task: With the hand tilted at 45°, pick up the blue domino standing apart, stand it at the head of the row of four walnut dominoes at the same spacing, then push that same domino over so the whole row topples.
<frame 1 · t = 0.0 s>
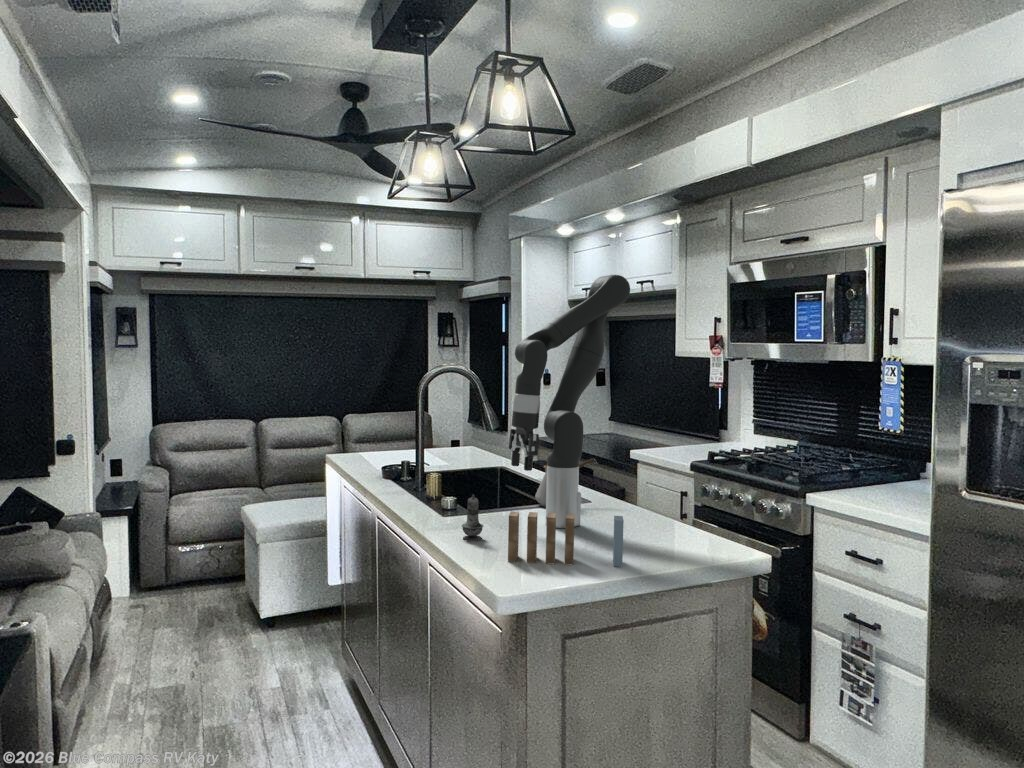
hand: (521, 468, 209), 17 cm above the countertop, tool pointing down, fingers open, 8 cm apart
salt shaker: (472, 539, 197), on the countertop
coffee pot: (566, 505, 244), on the countertop
domino 2: (569, 561, 178), on the countertop
domino 4: (531, 559, 179), on the countertop
domino 5: (513, 558, 179), on the countertop
blue domino: (617, 563, 177), on the countertop
domino 3: (550, 560, 178), on the countertop
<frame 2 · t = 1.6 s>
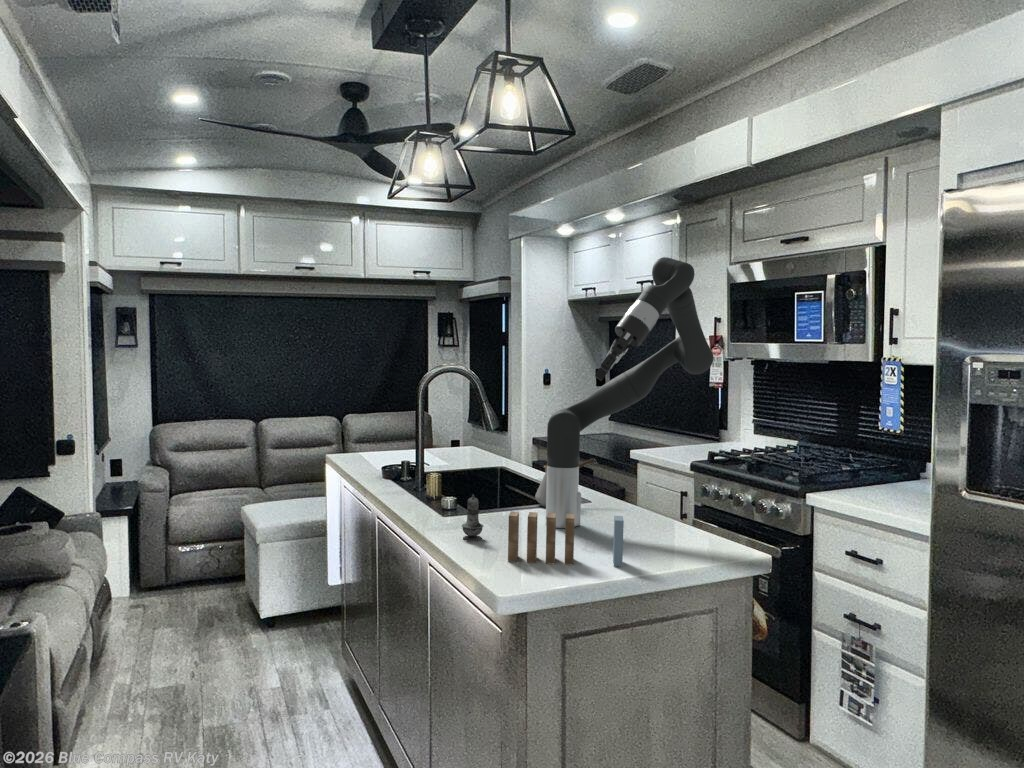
hand: (600, 373, 180), 45 cm above the countertop, tool tilted 40°, fingers open, 8 cm apart
nothing on the countertop moved.
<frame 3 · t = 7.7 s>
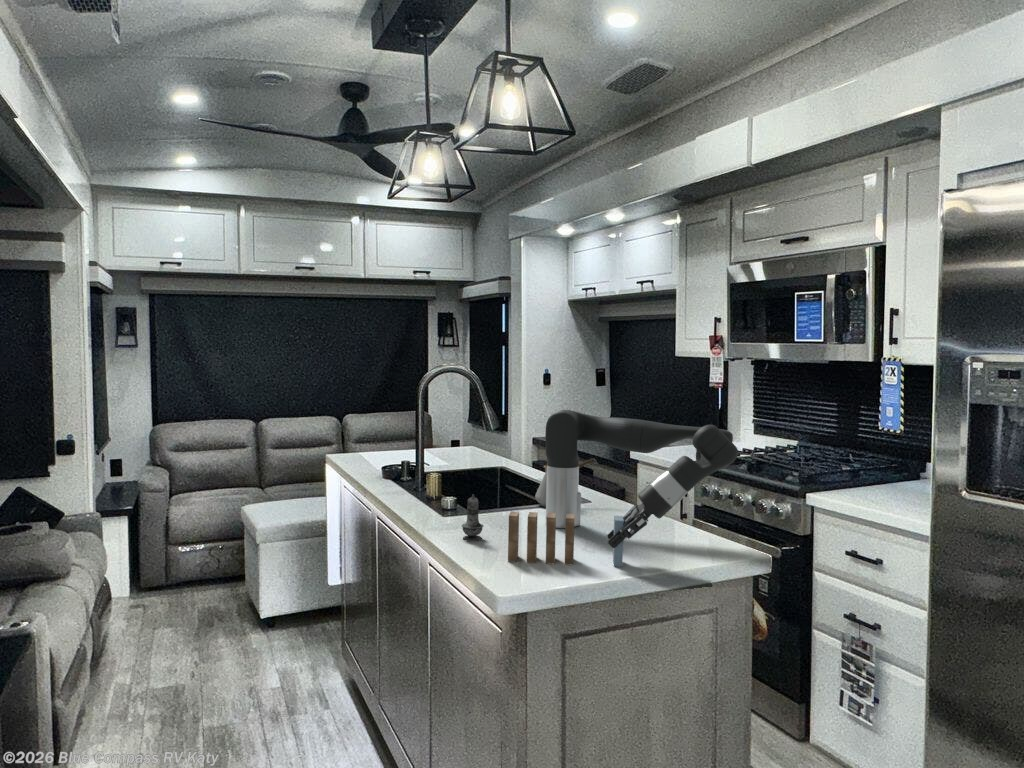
hand: (610, 541, 177), 5 cm above the countertop, tool tilted 45°, fingers closed on blue domino, 5 cm apart
blue domino: (617, 563, 177), on the countertop, touching gripper
everything else where it was.
when the fingers open (6 cm above the countertop, at t = 13.7 s): blue domino stays where it is, on the countertop.
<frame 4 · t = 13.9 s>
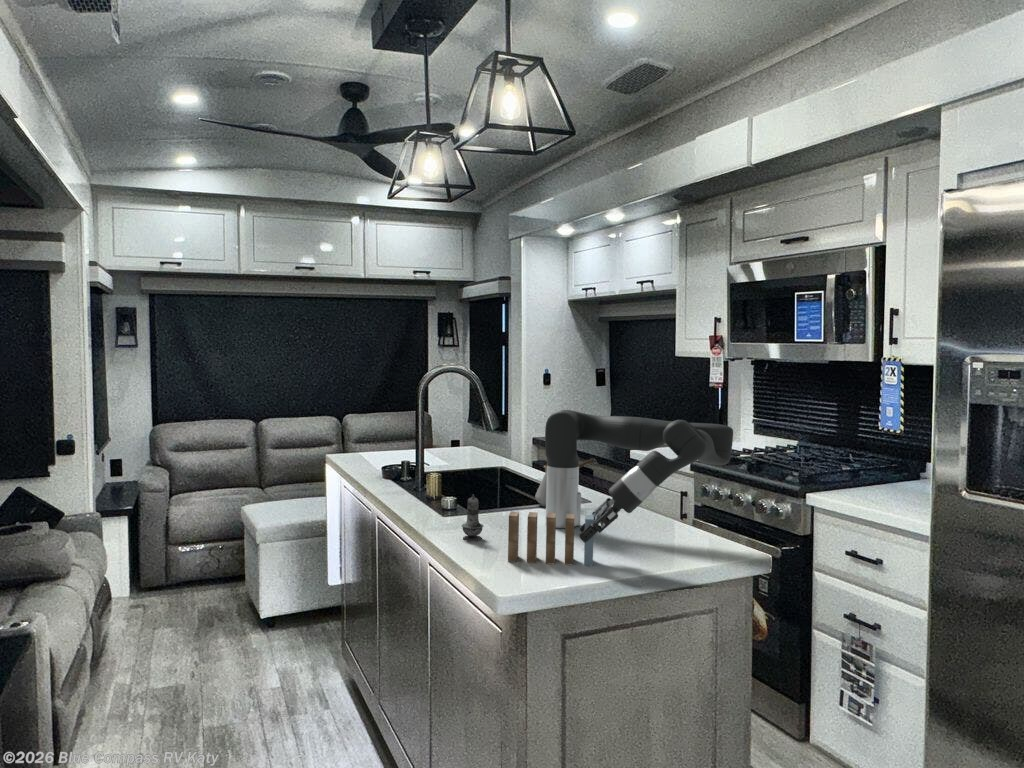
hand: (581, 535, 177), 6 cm above the countertop, tool tilted 45°, fingers open, 6 cm apart
blue domino: (588, 562, 177), on the countertop
everything else where it was.
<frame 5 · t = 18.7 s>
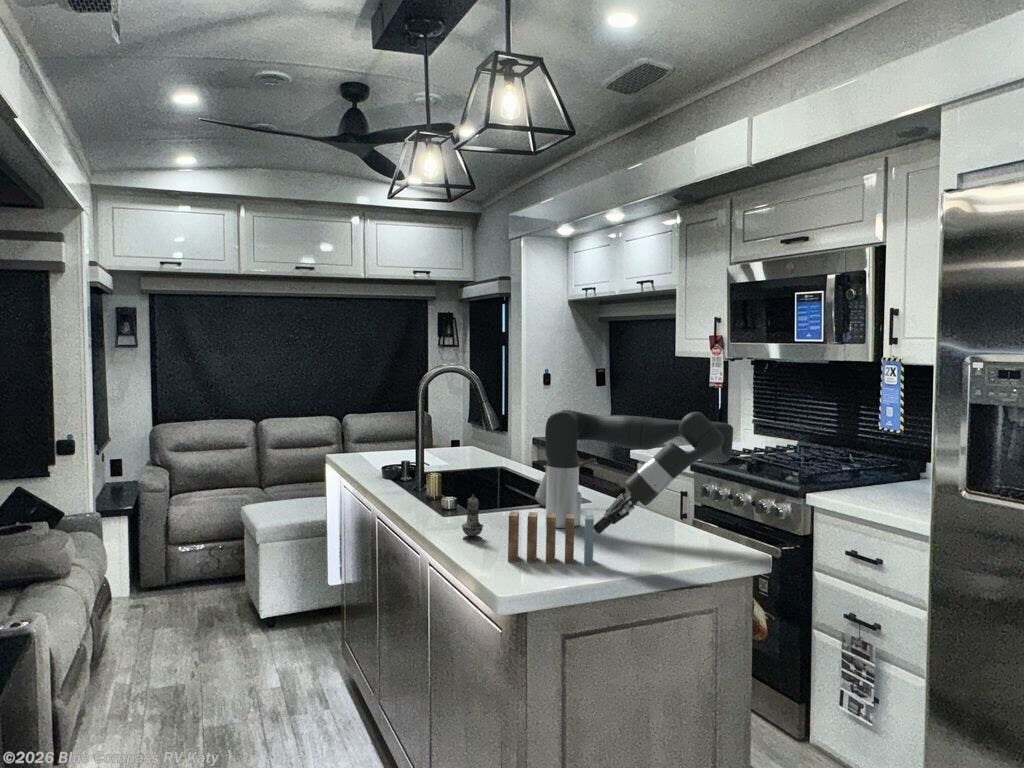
hand: (595, 530, 177), 8 cm above the countertop, tool tilted 45°, fingers closed
blue domino: (588, 562, 177), on the countertop, touching gripper
everything else where it was.
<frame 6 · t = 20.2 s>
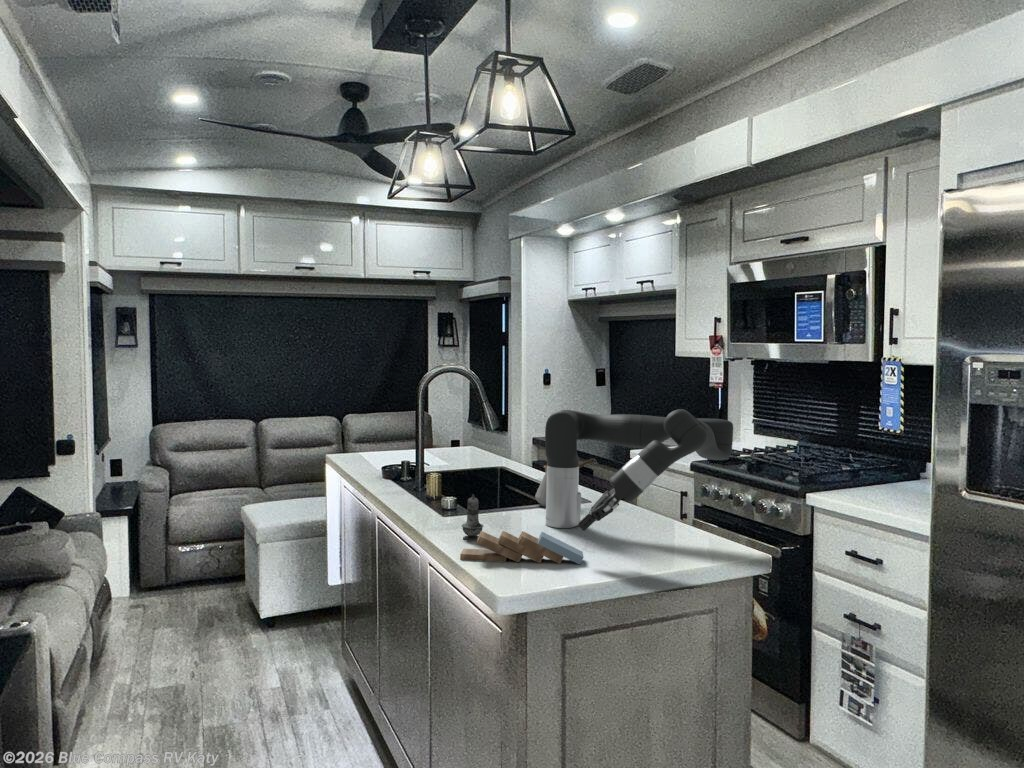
hand: (580, 527, 177), 8 cm above the countertop, tool tilted 45°, fingers closed
domino 2: (561, 557, 178), point 1 cm above the countertop, tilted 65°, touching domino 3, blue domino
domino 4: (520, 555, 178), point 1 cm above the countertop, tilted 67°, touching domino 3, domino 5
domino 5: (507, 557, 179), on the countertop, tilted 90°, touching domino 4
blue domino: (581, 558, 178), point 1 cm above the countertop, tilted 65°, touching domino 2
domino 3: (541, 556, 178), point 1 cm above the countertop, tilted 65°, touching domino 2, domino 4
everything else where it was.
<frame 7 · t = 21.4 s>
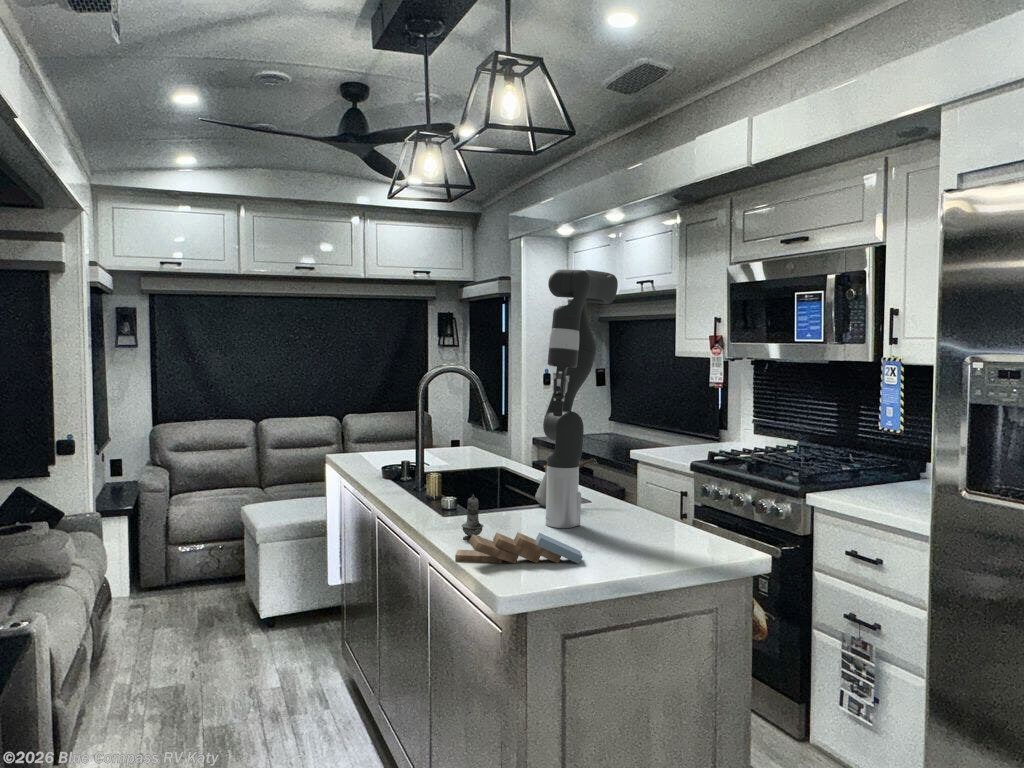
hand: (557, 416, 188), 34 cm above the countertop, tool pointing down, fingers closed
domino 4: (513, 555, 177), point 1 cm above the countertop, tilted 68°, touching domino 3, domino 5
domino 5: (502, 557, 178), on the countertop, tilted 90°, touching domino 4
domino 3: (537, 556, 178), point 1 cm above the countertop, tilted 67°, touching domino 2, domino 4
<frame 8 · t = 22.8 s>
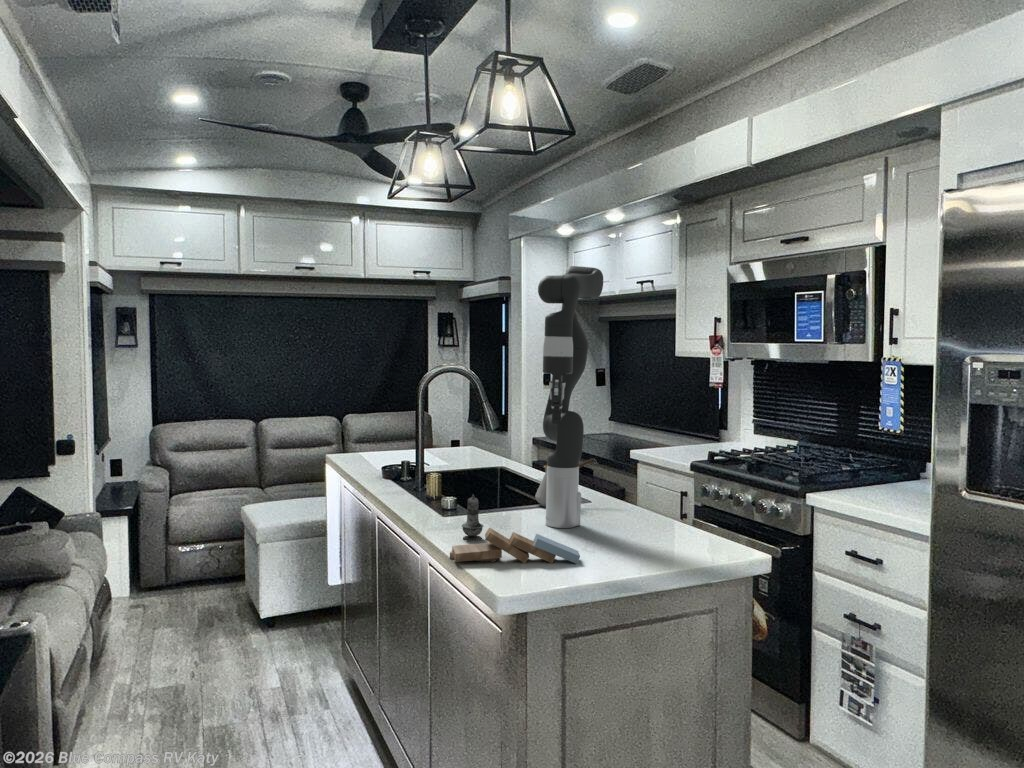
hand: (556, 423, 188), 32 cm above the countertop, tool pointing down, fingers closed
domino 2: (553, 556, 178), point 1 cm above the countertop, tilted 66°, touching blue domino
domino 4: (499, 549, 177), point 3 cm above the countertop, tilted 93°
domino 5: (496, 557, 179), on the countertop, tilted 90°
domino 3: (526, 557, 178), point 1 cm above the countertop, tilted 59°
at the end: domino 5 tilted 90°; blue domino tilted 69°; blue domino 6.0 cm from the domino 2 (horizontally) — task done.
